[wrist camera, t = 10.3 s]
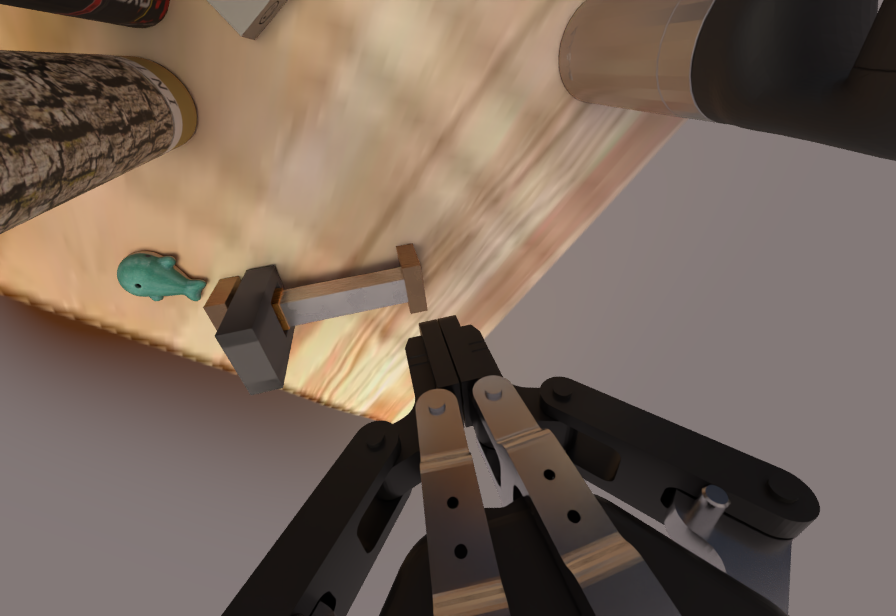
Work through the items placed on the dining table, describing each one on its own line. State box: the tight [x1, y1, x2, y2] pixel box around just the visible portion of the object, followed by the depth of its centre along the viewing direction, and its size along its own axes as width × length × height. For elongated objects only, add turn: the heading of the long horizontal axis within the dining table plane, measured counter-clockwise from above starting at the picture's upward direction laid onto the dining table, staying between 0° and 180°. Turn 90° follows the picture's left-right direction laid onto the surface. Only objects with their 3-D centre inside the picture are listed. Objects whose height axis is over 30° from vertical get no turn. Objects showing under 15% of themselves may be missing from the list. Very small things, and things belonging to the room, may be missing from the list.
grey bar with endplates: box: [203, 244, 427, 331], centre depth 41 cm, size 22×6×6 cm, turn 96°
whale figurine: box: [117, 251, 206, 301], centre depth 37 cm, size 6×7×4 cm
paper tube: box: [0, 50, 197, 234], centre depth 21 cm, size 7×7×25 cm
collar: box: [215, 265, 295, 395], centre depth 37 cm, size 3×7×12 cm, turn 6°
